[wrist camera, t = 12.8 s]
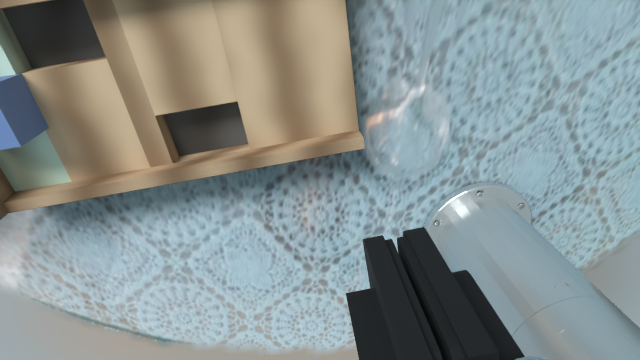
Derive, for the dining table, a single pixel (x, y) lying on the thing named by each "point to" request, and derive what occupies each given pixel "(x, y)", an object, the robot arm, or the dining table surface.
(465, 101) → the dining table surface
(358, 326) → the robot arm
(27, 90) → the blue block
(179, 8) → the trap board
